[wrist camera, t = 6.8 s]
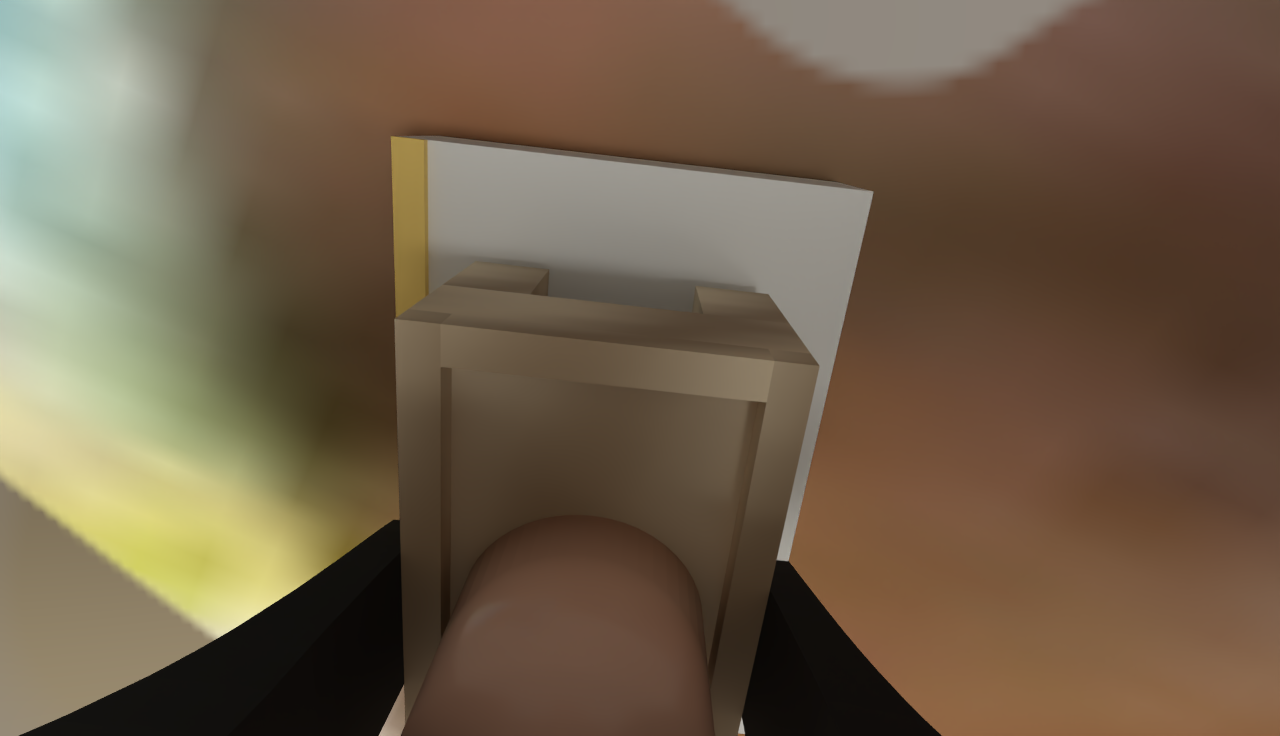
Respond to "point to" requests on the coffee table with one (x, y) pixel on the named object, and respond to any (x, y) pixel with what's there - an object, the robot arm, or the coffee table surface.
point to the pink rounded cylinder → (571, 639)
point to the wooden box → (598, 443)
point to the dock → (633, 238)
